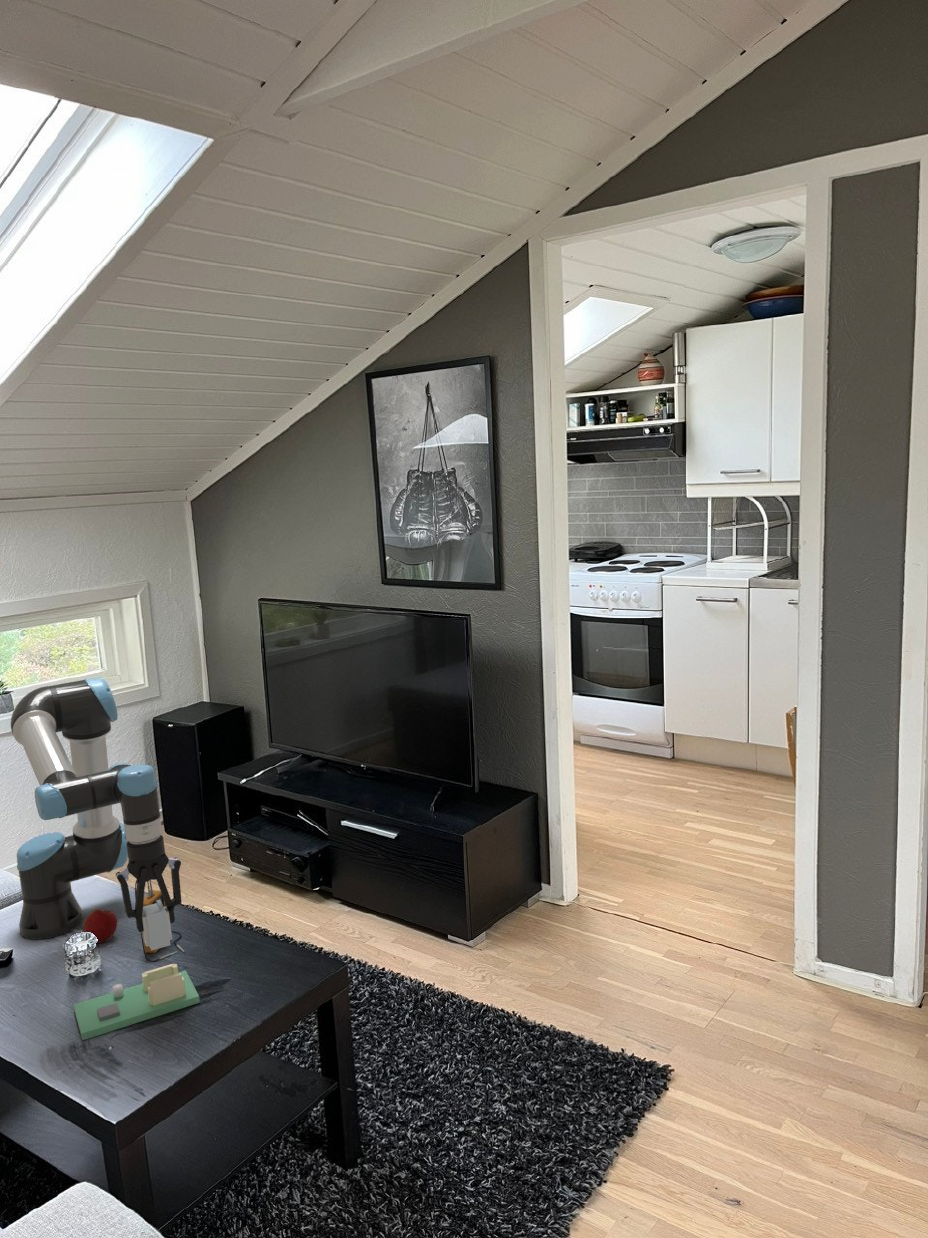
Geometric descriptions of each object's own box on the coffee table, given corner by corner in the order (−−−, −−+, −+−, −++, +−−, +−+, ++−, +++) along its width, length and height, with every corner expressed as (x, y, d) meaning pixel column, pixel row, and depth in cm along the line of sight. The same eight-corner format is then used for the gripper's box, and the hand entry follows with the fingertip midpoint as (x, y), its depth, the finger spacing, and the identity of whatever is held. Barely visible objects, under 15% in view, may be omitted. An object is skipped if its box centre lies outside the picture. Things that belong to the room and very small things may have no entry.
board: (74, 1011, 207) (70, 983, 206) (186, 976, 218) (183, 950, 217) (82, 1040, 196) (78, 1011, 195) (199, 1002, 207) (196, 974, 206)
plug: (146, 941, 209) (141, 904, 207) (165, 936, 211) (160, 899, 209) (151, 950, 204) (146, 913, 203) (170, 945, 206) (165, 907, 205)
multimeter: (175, 963, 225) (164, 883, 221) (136, 962, 227) (125, 882, 223) (203, 933, 239) (194, 857, 235) (167, 931, 241) (157, 856, 238)
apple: (115, 946, 235) (111, 915, 234) (81, 950, 234) (77, 920, 233) (122, 931, 243) (117, 901, 241) (88, 935, 242) (84, 906, 240)
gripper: (105, 853, 197) (120, 959, 200) (188, 833, 205) (201, 935, 208) (99, 842, 203) (114, 945, 207) (181, 823, 211) (193, 922, 215)
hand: (158, 940), depth 207 cm, fingers closed on plug, 4 cm apart
